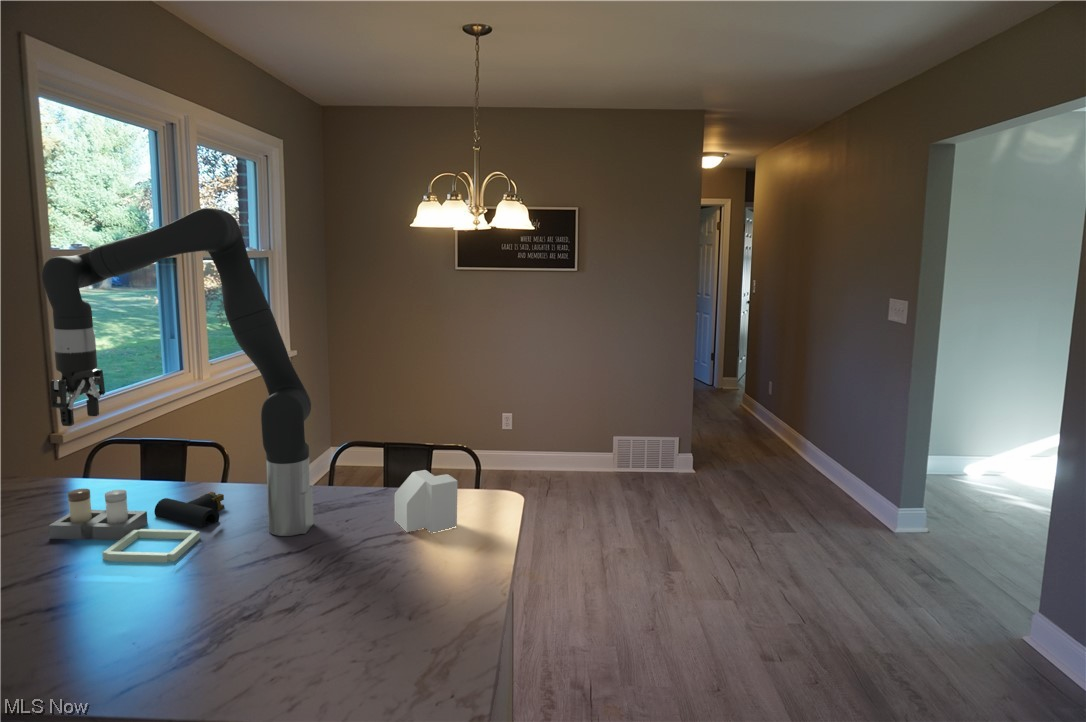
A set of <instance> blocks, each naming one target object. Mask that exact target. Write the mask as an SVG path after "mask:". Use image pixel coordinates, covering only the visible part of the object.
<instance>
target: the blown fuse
mask: <svg viewBox="0 0 1086 722" xmlns="http://www.w3.org/2000/svg"><path fill="white" fill-rule="evenodd" d="M67 498H68V499H67V500H68V510H69V513H70V522H72V523H86V522H88V521H89V520H91V519H92V513H91V510H92V502H91V489H89V488H77V489H73V490H71V491H68V492H67Z"/></svg>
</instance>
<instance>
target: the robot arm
mask: <svg viewBox="0 0 1086 722" xmlns="http://www.w3.org/2000/svg"><path fill="white" fill-rule="evenodd" d="M244 241H245V240H244V237H243V233H242V231H241V227H240V225H239V223H238V221H237V219H236V218H235V217H234V216H233V215H232V214H231V213H229V211H226V210H223V209H220V208H219V209H218V208H212V207H202V208H199V209H197V210H194V211H192V212H190V213H188V214H186V215H184V216H183V217H180V218H179V219H176V220H174V221H172V222H171V223H170V222H169V223H168V224H165V225H162V226H160V227H158V228H156V229H153V230H149V231H146V232H143V233H139V234H136V235H135V234H134V235H131V236H129V237H124V238H119V239H118V240H113V241H110V242H107V243H104V244H101V245H98V246H96V247H94V248H92V249H91V250H89V251H87V252H83V253H81V254H80V253H79V254H75V255H60V256H54V257H51V258H49V259H47V261H46V262H45V263H44V265H43V267H42V271H41V272H42V273H41V279H42V284H43V287H44V291H45V293H46V296H47V299H48V301H49V303H50V306H51V308H52V318H53V319H52V320H53V328H54V330H53V348H54V362H55V370H56V371H57V372H60V373H61V379H51V380H50V382H49V383H50V384H49V385H50V404H51V408H53V409H59V412H60V424H61V425H62V426H63V427H71V426H73V425H75V420H74V419H75V417H74V409H73V407H74V404H75V403H76V401H78V399H79V398H80V396H81V395H84V396H85V398H86V412H87V413H86V414H87V416H88V417H97V416H99V415H100V404H99V403H100V402H99V400H100V399H101V396H104V395H105V394H106V388H105V381H104V373H103V371H104V370H103V369H97V368H98V358H97V356H98V355H97V345H96V344H97V343H96V336H95V331H94V324H93V323H94V321H93V311H92V306H91V304H90V303H89V302H88V301H85V300H83V298H82V294H81V291H80V289H83V288H87V287H90V286H93V285H96V284H98V283H101V282H103V281H105V280H108V279H110V278H115V277H119V276H122V275H125V274H128V273H132V272H135V271H138V270H141V269H144V268H147V267H149V266H151V265H153V264H155V263H157V262H159V261H162V260H164V259H168V258H170V257H174V256H177V255H181V254H182V255H183V254H189V253H197V252H208V254H209V256H210V257H211V260H212V262H213V264H214V266H215V268H216V270H217V273H218V275H219V278H220V283H221V292H222V302H223V308H224V314H225V316H226V320H227V322H228V324H229V327H230V329H231V330H230V331H231V332H232V334H233V336H234V337H233V338H234V339H235V340H236V342H237V344H238V346H239V347H240V349H242V351H243V353H245V355H246V356H247V357H248V358H249V360H250V361H251V362H252V363H253V364H254V366H255V367H256V368H257V370H258V371H259V373H260V375H261V377H262V379H263V382H264V384H265V387H266V390H267V393H268V397H267V398H266V399H265V400H264V401H263V403H262V407H261V413H260V415H261V416H260V422H261V423H260V424H261V437H262V438H261V439H262V447H263V449H264V451H265V455H266V457H265V458H266V460H265V461H266V485H267V488H266V489H267V490H266V491H267V513H268V514H267V515H268V517H267V518H268V520H267V523H268V532H269V533H270V534H271V535H274V536H278V537H291V536H292V537H293V536H296V535H304V534H307V532H309V530H310V529H311V528H312V526H313V525H314V522H315V521H314V489H313V487H314V486H313V485H311V483H310V480H311V479H310V448H309V444H308V443H307V441H306V437H305V421H306V420H307V418H308V417H309V416H310V414H311V411H312V401H311V398H310V395H309V394H308V391H307V390H306V388H305V386H304V385H303V383H302V380H301V379H300V377H299V375H298V373H297V371H296V370H295V368H294V365H293V364H292V361H291V359H290V356H289V353H288V349H287V348H286V345H285V343H284V340H283V337H282V335H281V333H280V330H279V327H278V324H277V321H276V318H275V316H274V314H273V312H272V309H271V307H270V305H269V303H268V301H267V298H266V296H265V294H264V291H263V288H262V286H261V284H260V282H259V279H258V277H257V275H256V273H255V270H254V269H253V266H252V264H251V261H250V258H249V254H248V252H247V248H246V244H245V242H244ZM58 398H59V401H58Z"/></svg>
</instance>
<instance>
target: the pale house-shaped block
mask: <svg viewBox="0 0 1086 722" xmlns="http://www.w3.org/2000/svg"><path fill="white" fill-rule="evenodd" d="M395 521H396V522H397V523H398V524H399V525H400V526H401V527H402V528H403V529H404V530H405V531H406V532H409V531H413V530H418V529H422V528H426V529H427V530H428V531H430V533H433V532H438V531H441V530H445V529H449V528H452V527H455V526H458V480H457V479H456V478H454V477H453V476H452V475H449V474H448V473H447V474H439V475H434V474H432V473H430V471H428V470H426V469H423V470H417V471H412V472H411V474H410V475H409V476H407V478H406V479H405V480H404V482H403V483H402V484H401V485H400V486H399V488H398V489H396V491H395V492H394V522H395ZM401 527H400V528H401ZM402 528H401V529H402ZM403 529H402V530H403ZM426 529H425V530H426ZM404 530H403V531H404ZM427 530H426V531H427ZM405 531H404V532H405ZM428 531H427V532H428ZM406 532H405V533H406ZM430 533H429V534H430Z"/></svg>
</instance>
